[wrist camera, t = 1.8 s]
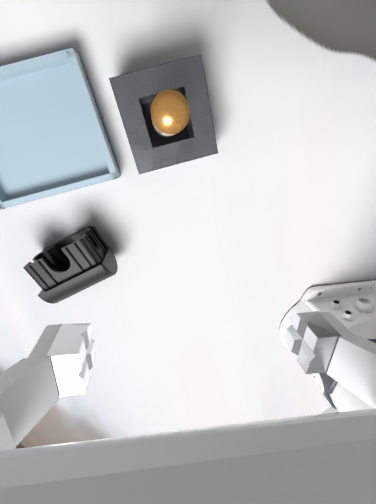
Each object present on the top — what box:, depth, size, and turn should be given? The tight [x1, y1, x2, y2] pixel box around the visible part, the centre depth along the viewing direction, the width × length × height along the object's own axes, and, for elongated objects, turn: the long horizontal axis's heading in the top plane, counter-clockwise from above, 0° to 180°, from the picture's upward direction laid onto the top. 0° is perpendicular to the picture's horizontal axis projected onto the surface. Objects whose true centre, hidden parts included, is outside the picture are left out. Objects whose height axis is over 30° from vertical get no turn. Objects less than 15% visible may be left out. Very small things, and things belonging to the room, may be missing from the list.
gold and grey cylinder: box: [151, 89, 190, 137], centre depth 28 cm, size 4×4×11 cm
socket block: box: [109, 54, 218, 174], centre depth 31 cm, size 10×10×5 cm
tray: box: [0, 48, 120, 210], centre depth 31 cm, size 16×14×2 cm
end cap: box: [23, 226, 117, 303], centre depth 36 cm, size 10×7×7 cm
